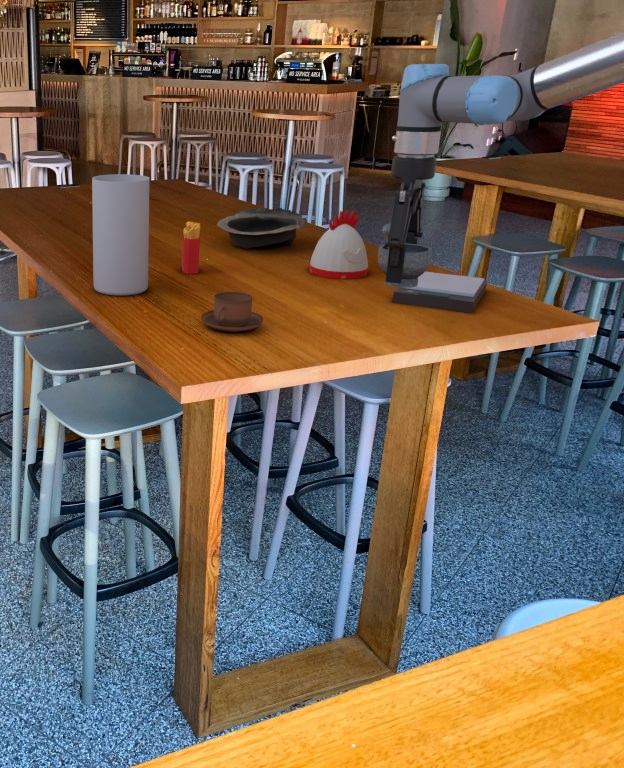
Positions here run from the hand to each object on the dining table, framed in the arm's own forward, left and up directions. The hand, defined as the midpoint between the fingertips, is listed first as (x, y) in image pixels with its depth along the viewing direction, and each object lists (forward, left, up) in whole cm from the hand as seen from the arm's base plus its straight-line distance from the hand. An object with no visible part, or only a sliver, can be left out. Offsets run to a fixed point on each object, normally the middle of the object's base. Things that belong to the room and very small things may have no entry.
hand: (399, 276), depth 151 cm
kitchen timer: (+39, +22, -10) cm, 46 cm away
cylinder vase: (-3, +60, -10) cm, 61 cm away
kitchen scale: (+28, -4, -10) cm, 30 cm away
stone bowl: (+58, +50, -10) cm, 78 cm away
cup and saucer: (-16, +27, -10) cm, 33 cm away
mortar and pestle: (-1, 0, -2) cm, 2 cm away
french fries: (+21, +54, -10) cm, 59 cm away
